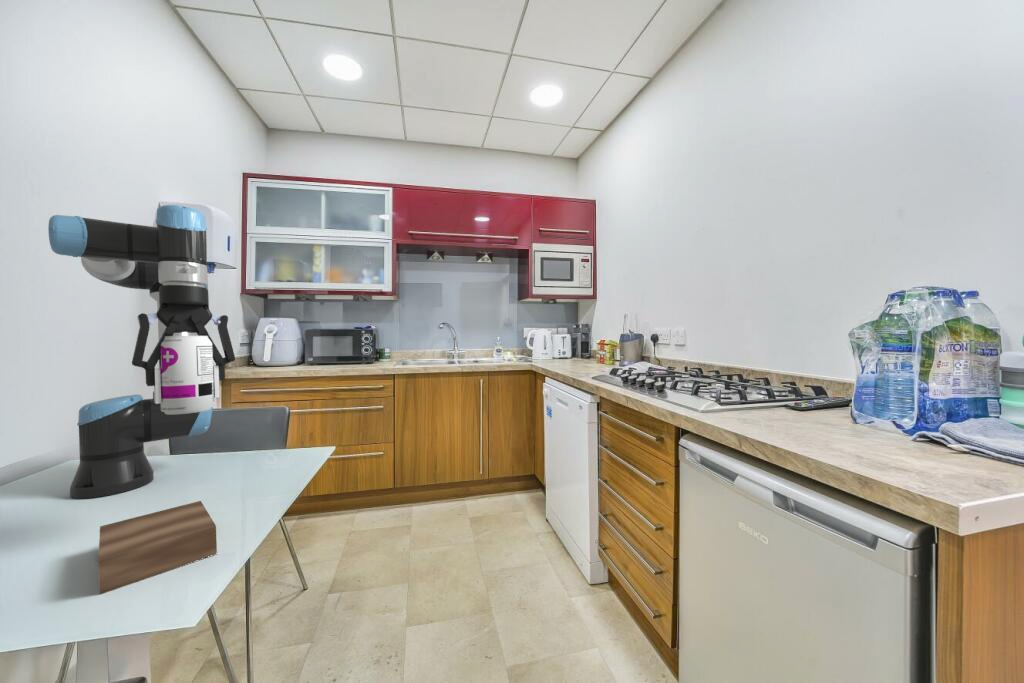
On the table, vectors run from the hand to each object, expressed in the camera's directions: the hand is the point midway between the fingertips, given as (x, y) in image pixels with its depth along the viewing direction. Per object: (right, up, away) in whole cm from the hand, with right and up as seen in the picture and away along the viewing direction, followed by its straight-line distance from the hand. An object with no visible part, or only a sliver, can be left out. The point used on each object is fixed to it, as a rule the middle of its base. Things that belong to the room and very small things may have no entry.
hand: (188, 399), depth 77 cm
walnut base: (+2, -26, -9) cm, 28 cm away
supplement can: (0, -2, 0) cm, 2 cm away
